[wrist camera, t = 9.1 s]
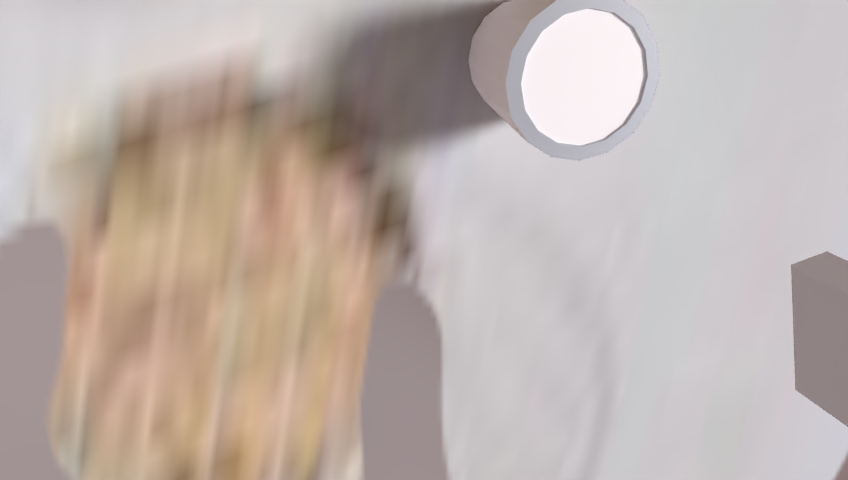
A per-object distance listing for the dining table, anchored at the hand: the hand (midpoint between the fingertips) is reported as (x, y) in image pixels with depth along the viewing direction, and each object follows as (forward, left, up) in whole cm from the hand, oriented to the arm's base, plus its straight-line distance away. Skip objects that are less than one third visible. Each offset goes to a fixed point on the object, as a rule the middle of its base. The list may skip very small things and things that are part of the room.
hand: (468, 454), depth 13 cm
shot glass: (+11, +1, -26) cm, 28 cm away
